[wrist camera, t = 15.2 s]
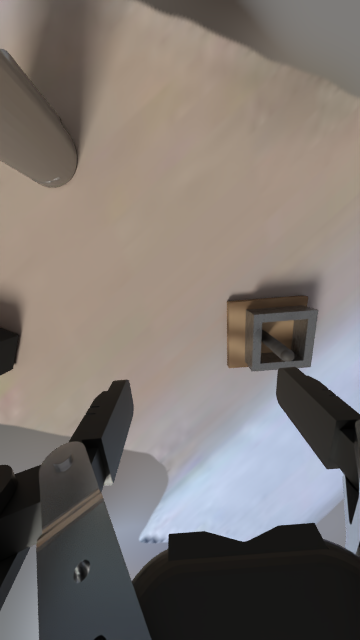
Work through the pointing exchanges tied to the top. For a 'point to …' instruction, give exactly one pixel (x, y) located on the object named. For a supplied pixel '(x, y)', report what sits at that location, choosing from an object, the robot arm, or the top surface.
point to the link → (300, 338)
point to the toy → (7, 350)
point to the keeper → (273, 333)
